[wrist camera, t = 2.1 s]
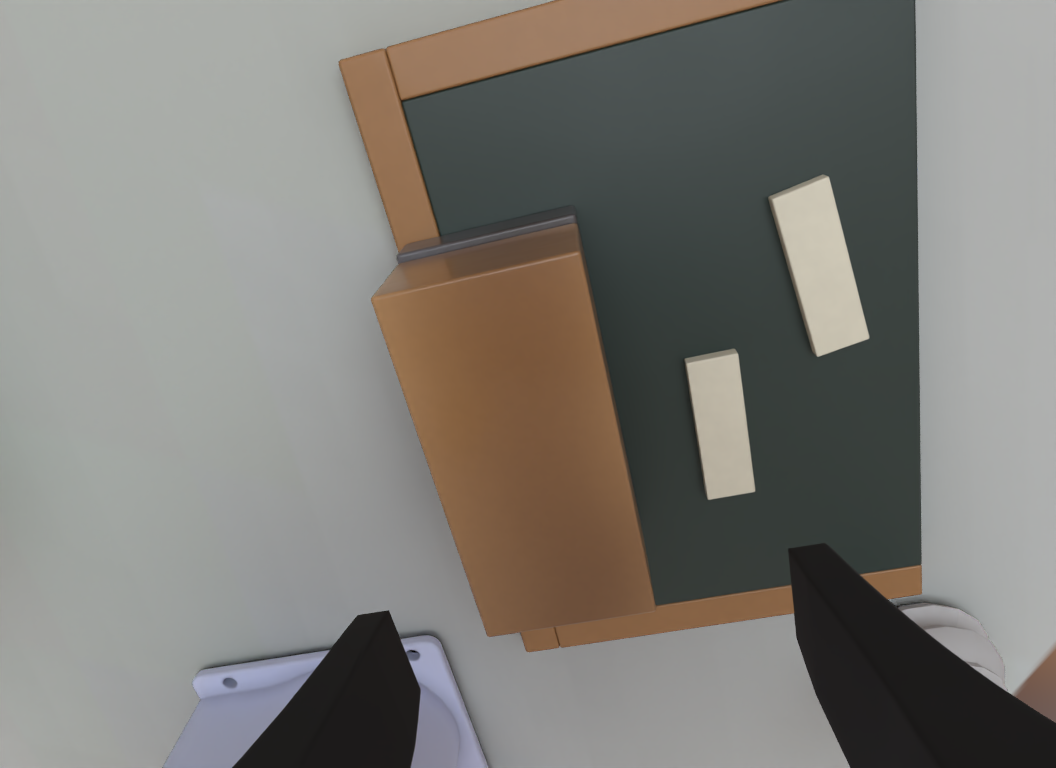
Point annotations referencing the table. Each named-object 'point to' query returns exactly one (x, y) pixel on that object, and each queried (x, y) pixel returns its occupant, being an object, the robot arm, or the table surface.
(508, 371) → the duster
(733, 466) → the chalk mark
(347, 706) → the robot arm
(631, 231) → the chalkboard
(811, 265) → the chalk mark
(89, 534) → the table surface
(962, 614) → the rook chess piece
